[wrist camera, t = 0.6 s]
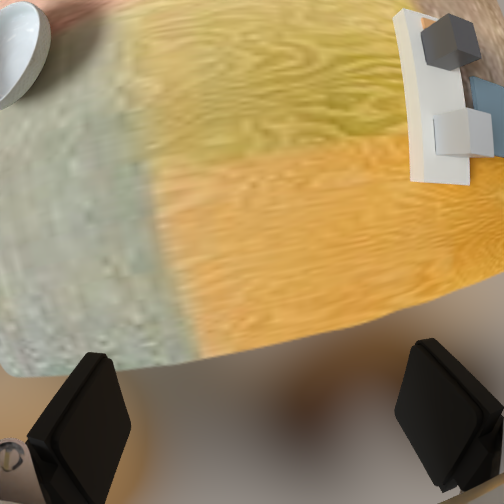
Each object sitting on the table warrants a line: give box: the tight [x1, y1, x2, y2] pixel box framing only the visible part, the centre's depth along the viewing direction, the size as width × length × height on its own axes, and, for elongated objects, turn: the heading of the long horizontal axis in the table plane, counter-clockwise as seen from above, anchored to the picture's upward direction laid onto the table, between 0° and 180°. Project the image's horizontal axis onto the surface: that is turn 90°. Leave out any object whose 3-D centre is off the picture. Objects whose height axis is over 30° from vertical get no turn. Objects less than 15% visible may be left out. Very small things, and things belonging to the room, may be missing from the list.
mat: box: [469, 76, 504, 158], centre depth 34 cm, size 12×10×1 cm
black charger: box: [420, 13, 481, 71], centre depth 26 cm, size 5×4×8 cm
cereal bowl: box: [0, 1, 51, 110], centre depth 27 cm, size 17×17×7 cm
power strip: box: [392, 8, 470, 185], centre depth 32 cm, size 24×8×4 cm, turn 2°
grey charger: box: [433, 108, 494, 158], centre depth 29 cm, size 5×4×8 cm
